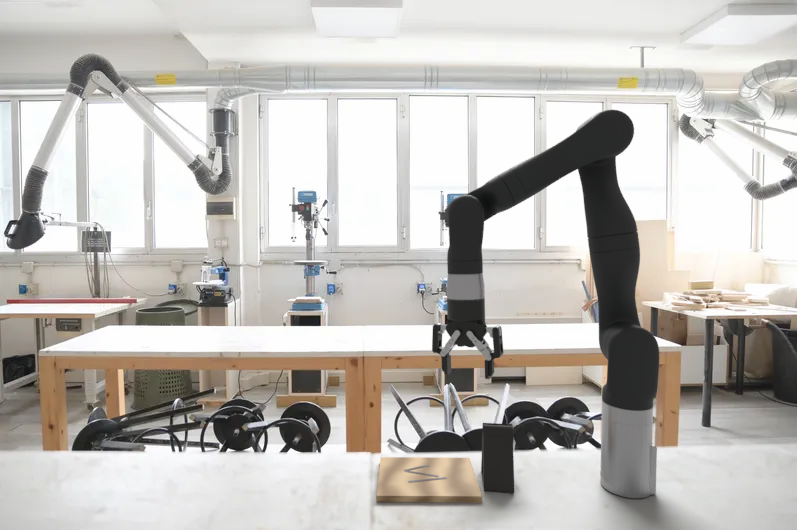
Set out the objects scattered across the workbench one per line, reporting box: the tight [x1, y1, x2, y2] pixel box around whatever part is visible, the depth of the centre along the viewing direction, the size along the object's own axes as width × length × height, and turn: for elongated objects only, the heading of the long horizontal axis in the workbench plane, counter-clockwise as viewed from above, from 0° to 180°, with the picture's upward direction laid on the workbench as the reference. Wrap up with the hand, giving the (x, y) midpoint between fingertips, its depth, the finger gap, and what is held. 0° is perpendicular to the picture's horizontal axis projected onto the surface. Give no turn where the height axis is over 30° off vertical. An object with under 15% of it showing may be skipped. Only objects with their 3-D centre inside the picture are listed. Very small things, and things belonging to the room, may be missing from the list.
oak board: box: [376, 456, 483, 504], centre depth 95 cm, size 20×16×1 cm
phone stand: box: [480, 422, 515, 494], centre depth 95 cm, size 9×6×12 cm, turn 173°
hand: (467, 375), depth 93 cm, fingers open, 8 cm apart
